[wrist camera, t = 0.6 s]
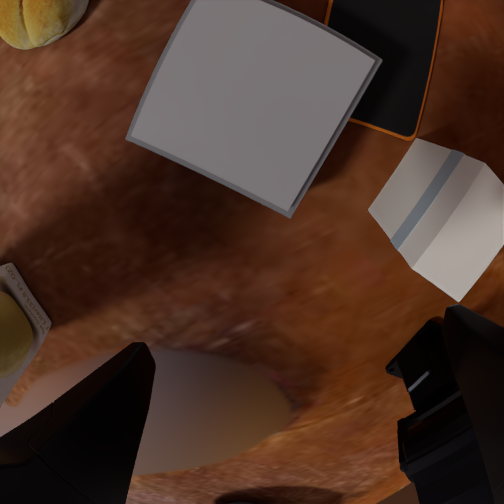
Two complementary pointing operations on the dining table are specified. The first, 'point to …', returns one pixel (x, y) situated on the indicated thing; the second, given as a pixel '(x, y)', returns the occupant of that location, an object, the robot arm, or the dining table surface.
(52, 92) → the dining table surface
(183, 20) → the display podium
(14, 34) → the bread roll
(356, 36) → the smartphone
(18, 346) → the juice carton
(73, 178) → the dining table surface
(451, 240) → the carton
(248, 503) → the ramen bowl
